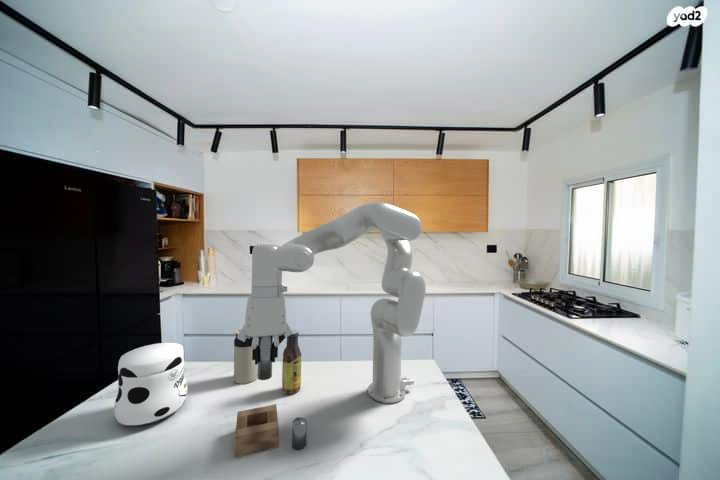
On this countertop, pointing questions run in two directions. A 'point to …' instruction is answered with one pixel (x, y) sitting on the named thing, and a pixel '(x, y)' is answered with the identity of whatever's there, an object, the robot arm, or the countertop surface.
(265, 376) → the long pin
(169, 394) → the milk container
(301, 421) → the short pin
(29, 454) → the countertop surface
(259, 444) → the hole block
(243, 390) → the countertop surface
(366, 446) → the countertop surface
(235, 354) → the travel mug
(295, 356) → the sauce bottle
